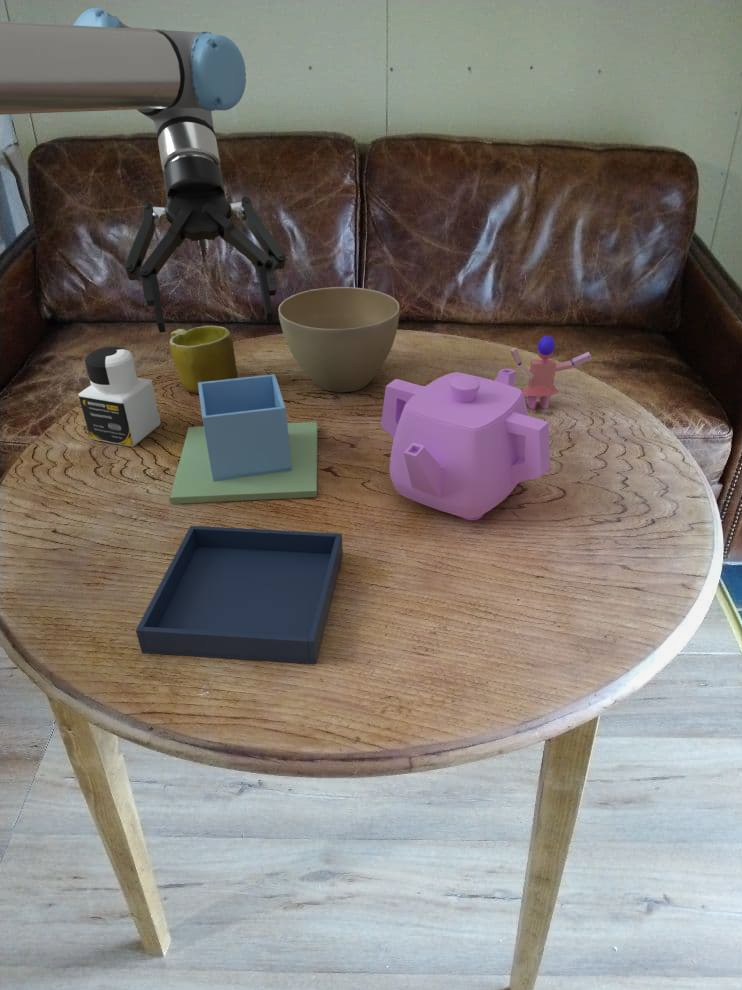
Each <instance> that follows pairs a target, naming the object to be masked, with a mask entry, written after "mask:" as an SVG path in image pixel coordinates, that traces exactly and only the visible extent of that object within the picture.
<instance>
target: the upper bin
mask: <svg viewBox="0 0 742 990" xmlns="http://www.w3.org/2000/svg"><path fill="white" fill-rule="evenodd" d="M198 388H199V394H198V395H199V403H200V413H201V418H202V419H201V420H202V425H203V426H204V431H205V437H206V443H207V448H208V454H209V460H210V466H211V472H212V478H213V481H219V480H227V479H234V478H241V477H249V476H256V475H263V474H271V473H278V472H286V471H292V467H291V457H290V447H289V437H288V427H287V423H288V418H287V408H286V405H285V402H284V398H283V394H282V392H281V388H280V385H279V383H278V379H277V376H276V374H275V373H272V374H264V375H254V376H253V375H252V376H246V377H238V378H235V379H226V380H217V381H208V382H199V383H198Z"/></svg>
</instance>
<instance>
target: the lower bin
mask: <svg viewBox="0 0 742 990" xmlns="http://www.w3.org/2000/svg"><path fill="white" fill-rule="evenodd" d="M343 556H344V546H343V533H339V532H338V533H337V532H318V531H317V532H315V531H301V530H299V531H298V530H281V529H280V530H279V529H264V528H263V529H261V528H244V527H243V528H241V527H225V526H223V527H221V526H203V525H190V526H189V528H188V530H187V532H186V534H185V535H184V538H183V539H182V541H181V543H180V545H179V547H178V549H177V550H176V552H175V555H174V557H173V558H172V561H171V562H170V564H169V566H168V568H167V570H166V572H165V574H164V575H163V577H162V579H161V581H160V583H159V585H158V587H157V589H156V591H155V592H154V595H153V597H152V598H151V600H150V602H149V604H148V606H147V608H146V609H145V612H144V614H143V615H142V617H141V619H140V621H139V623H138V625H137V627H136V629H135V633H136V636H137V640H138V644H139V647H140V651H141V653H142V654H153V655H171V656H187V657H200V658H201V657H202V658H216V659H231V660H246V661H261V662H276V663H278V662H279V663H293V664H308V665H310V664H311V665H316V664H317V662H318V658H319V654H320V650H321V646H322V642H323V637H324V634H325V629H326V626H327V622H328V618H329V613H330V610H331V605H332V602H333V598H334V592H335V590H336V585H337V581H338V578H339V577H338V576H339V573H340V569H341V565H342V561H343V558H344V557H343Z"/></svg>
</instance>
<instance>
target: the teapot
mask: <svg viewBox="0 0 742 990" xmlns="http://www.w3.org/2000/svg"><path fill="white" fill-rule="evenodd" d="M516 374H517V370H514V369H510V368H506V367H505V368H503V369H501V370H499V371H498V374H497V376H496V377H495V379H494V380H492V379H488V378H485V377H481V376H477V375H473V374H469V373H464V372H459V371H455V372H450V373H447V374H444V375H442V376H440V377H438V378H436V379H434V380H433V381H431V382H429V383H428V384H426V385H425V386H424V385H421V384H417V383H414V382H409V381H405V380H403V379H398V378H395V379H393V380H392V381H391V382H390V383H388V384H387V385H385V389H384V390H385V391H384V397H383V403H382V411H381V412H382V413H381V418H380V419H381V420H380V421H381V422H380V427H381V428H382V429H383V430H384V431H386V433H388V434H389V435H390V437H392V438H393V441H392V446H391V452H390V460H389V475H390V480H391V482H392V485H393V486H394V489H395V490H396V492H397V493H398V494H399V495H401V496H402V497H405V498H407V499H408V500H412V502H413V501H414V502H415V503H418V504H421V505H424V506H426V507H429V508H431V509H435V510H437V511H440V512H443V513H448V514H450V515H452V516H457V517H459V518H460V517H461V518H462V519H464V520H467V521H477V520H479V519H481V518H483V516H484V515H485V514H486V513H488V512H489V511H491V510H492V509H494V508H495V507H497V506H498V505H500V503H502V502H503V501H505V500H506V499H507V498H508V497H509V495H510V494H511V493H513V491H514V489H515V488H516V487H517V485H518V484H519V483H521V482H525V481H529V480H534V479H537V478H541V477H542V476H544V475H545V473H547V472H548V471H549V470H550V469H551V450H550V449H551V447H550V446H551V445H550V422H549V421H547V420H543V419H539V418H536V417H532V416H530V415H529V412H528V406H527V402H526V399H525V395H523V392H522V389H521V388H519V387H515V381H516Z"/></svg>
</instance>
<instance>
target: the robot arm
mask: <svg viewBox="0 0 742 990" xmlns="http://www.w3.org/2000/svg"><path fill="white" fill-rule="evenodd" d="M246 77H247V72H246V63H245V60H244V56H243V54H242V52H241V50H240V49H239V47H238V46H237V44H236V43H235V42H234V41H233V40H232V39H230V38H229V37H227V36H225V35H222V34H217V33H213V32H211V31H200V32H199V31H185V30H168V29H167V30H166V29H156V28H145V27H132V26H128V25H126V24H125V23H123V22H122V21H121V19H119V18H118V17H117V16H116V15H112V14H111V13H110V12H107V11H106V10H105V9H102V8H101V7H100V8H99V7H91V8H87V9H86V10H85V11H83V12H82V13H81V14H80V15H79V16H78V17H77V19H75V21H74V23H73V24H72V25H71V24H57V23H38V22H23V21H21V22H20V21H4V20H3V21H2V20H0V115H24V114H26V115H29V114H51V113H52V114H53V113H55V114H56V113H78V112H102V111H125V110H126V111H130V110H132V111H133V110H136V111H138V112H139V113H141V114H142V115H144V116H145V117H147V118H149V119H150V120H152V121H153V122H154V125H155V131H156V137H157V144H158V151H159V158H160V164H161V169H162V172H163V174H162V176H163V182H164V183H163V184H164V190H165V196H166V204H165V206H153V204H152V203H151V202H149V201H147V202H144V203H143V204H142V220H141V223H140V225H139V227H138V231H137V232H136V235H135V237H134V240H133V242H132V245H131V248H130V251H129V253H128V255H127V258H126V260H125V263H124V265H123V268H124V272H125V274H126V278H127V280H129V281H132V282H133V281H138V282H140V283H141V286H142V293H143V298H144V302H145V304H146V306H147V307H153V306H154V311H155V319H156V324H157V328H158V332H159V333H166V325H165V319H164V311H163V305H162V304H163V303H162V298H161V291H160V285H159V280H158V276H157V275H158V274H159V273H160V272H161V270H162V269H163V267H164V266H165V264H166V263H167V262H168V260H169V259H170V258H171V257H172V256H173V254H174V252H175V251H176V250H177V248H178V247H180V246H182V244H183V243H184V241H185V240H186V239H187V240H190V242H198V241H201V240H208V241H215V240H216V238H218V237H219V238H221V239H222V240H223V241H224V242H225V243H226V244H230V245H231V246H232V247H233V248H234V249H235V250H237V251H238V252H239V253H240V254H242V255H243V256H244V257H245V258H246V259H247V260H249V261H250V262H251V263H252V264H253V265H254V266H256V268H258V281H259V287H260V293H261V298H262V304H263V310H264V316H265V323H273V315H274V313H273V307H272V301H271V296H276V295H277V291H278V289H277V288H278V285H277V280H276V274H275V272H276V271H277V270H282V269H284V268H285V267H286V259H287V256H286V252H284V250H283V248H281V246H280V244H279V243H278V242H277V240H276V239H275V238H274V236H273V235H272V233H271V232H270V231H269V229H268V228H267V227H266V226H265V224H264V222H262V221H261V219H260V218H259V216H258V215H257V213H256V212H255V210H254V207H253V203H252V200H251V198H250V197H249V196H243V197H242V198H241V199H240V200H241V201H237V202H232V203H230V202H229V200H228V199H227V196H226V191H225V185H224V180H223V179H224V178H223V172H222V169H221V159H220V154H219V147H218V142H217V137H216V132H215V129H214V122H213V121H214V120H213V113H212V112H214V111H229V110H231V109H233V108H235V107H236V106H237V105H238V103H240V102H241V100H242V98H243V95H244V93H245V89H246V86H247V85H246V84H247V79H246ZM232 215H235V216H236V217H237V218H238V219H239V220H240V221H241V222H244V223H245V226H246V227H247V229H248V230H249V231H250V233H251V234H252V236H253V237H254V238H255V240H256V241H257V242H258V243H259V245H260V246H261V248H262V249H261V248H260V247H259V246H258V245H257V244H255V242H253V241H252V240H250V238H248V237H247V236H246V235H245V234H244V233H243V232H242V231H240V230H239V229H238V228H237V227H236V226H235V224H234V223H233V222H232V221H231V220H230V219H231V217H232ZM164 219H166V220H167V222H168V223H169V224H170V225H169V227H168V229H167V232H166V233H165V235H164V236H163V237H162V239H161V240H160V241H159V243H158V244H157V245H156V247H155V248H154V249H153V250H152V252H151V253H150V255H149V256H148V257H147V258H146V255H147V253H148V250H149V247H150V245H151V243H152V240H153V237H154V235H155V230H156V227H159V226H160V224H161V222H162V220H164ZM263 250H264V251H263ZM145 258H146V260H145ZM144 260H145V261H144Z"/></svg>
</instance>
